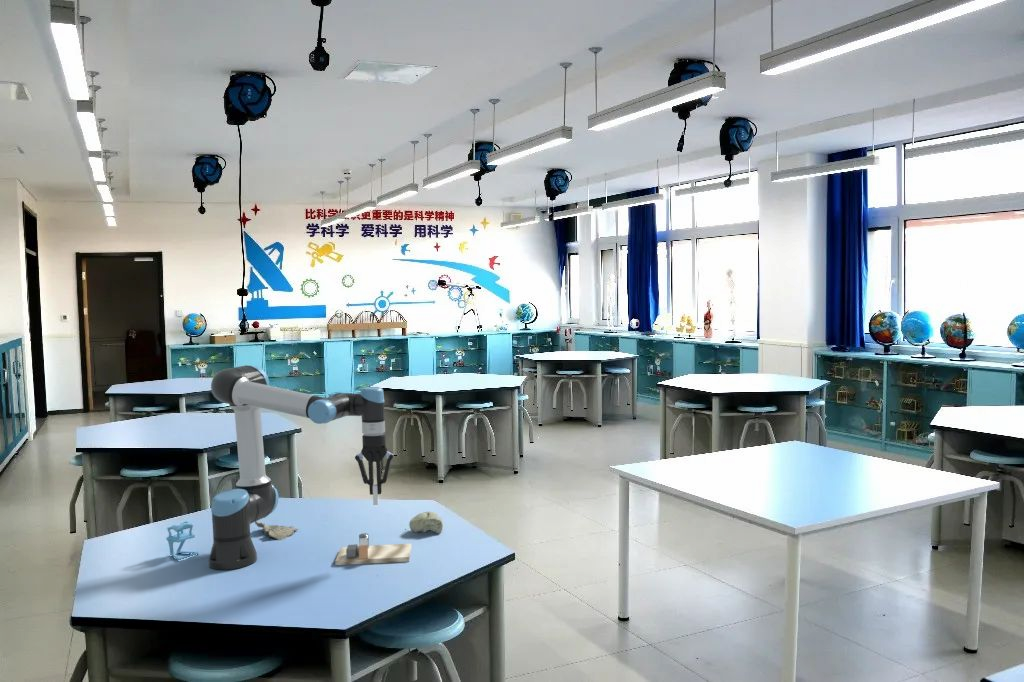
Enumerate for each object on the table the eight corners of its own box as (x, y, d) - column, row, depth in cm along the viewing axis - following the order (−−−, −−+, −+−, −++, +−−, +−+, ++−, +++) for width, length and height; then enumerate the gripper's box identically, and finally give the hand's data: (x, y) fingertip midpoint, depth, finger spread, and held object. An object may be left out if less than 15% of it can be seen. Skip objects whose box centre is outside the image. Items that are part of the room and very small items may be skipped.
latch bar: (359, 546, 264) (359, 533, 264) (369, 545, 265) (368, 533, 264) (358, 559, 251) (358, 546, 251) (368, 558, 251) (368, 545, 251)
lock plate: (335, 565, 250) (335, 560, 250) (341, 551, 264) (341, 546, 264) (409, 561, 252) (408, 557, 252) (411, 547, 266) (411, 543, 266)
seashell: (406, 516, 279) (414, 505, 289) (406, 536, 281) (414, 524, 290) (440, 520, 277) (447, 508, 287) (440, 540, 279) (446, 528, 289)
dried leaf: (293, 540, 279) (292, 527, 278) (248, 543, 277) (247, 529, 277) (301, 526, 296) (301, 513, 296) (259, 528, 295) (258, 515, 295)
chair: (183, 551, 269) (181, 517, 268) (199, 554, 265) (197, 520, 264) (163, 558, 262) (162, 523, 262) (179, 561, 258) (177, 526, 257)
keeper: (346, 558, 252) (346, 549, 252) (348, 553, 257) (348, 544, 257) (355, 558, 252) (355, 549, 252) (357, 553, 257) (357, 544, 257)
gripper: (352, 436, 250) (354, 507, 251) (392, 435, 250) (394, 506, 252) (355, 432, 257) (357, 501, 259) (394, 431, 258) (396, 500, 259)
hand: (376, 503), depth 255 cm, fingers closed
